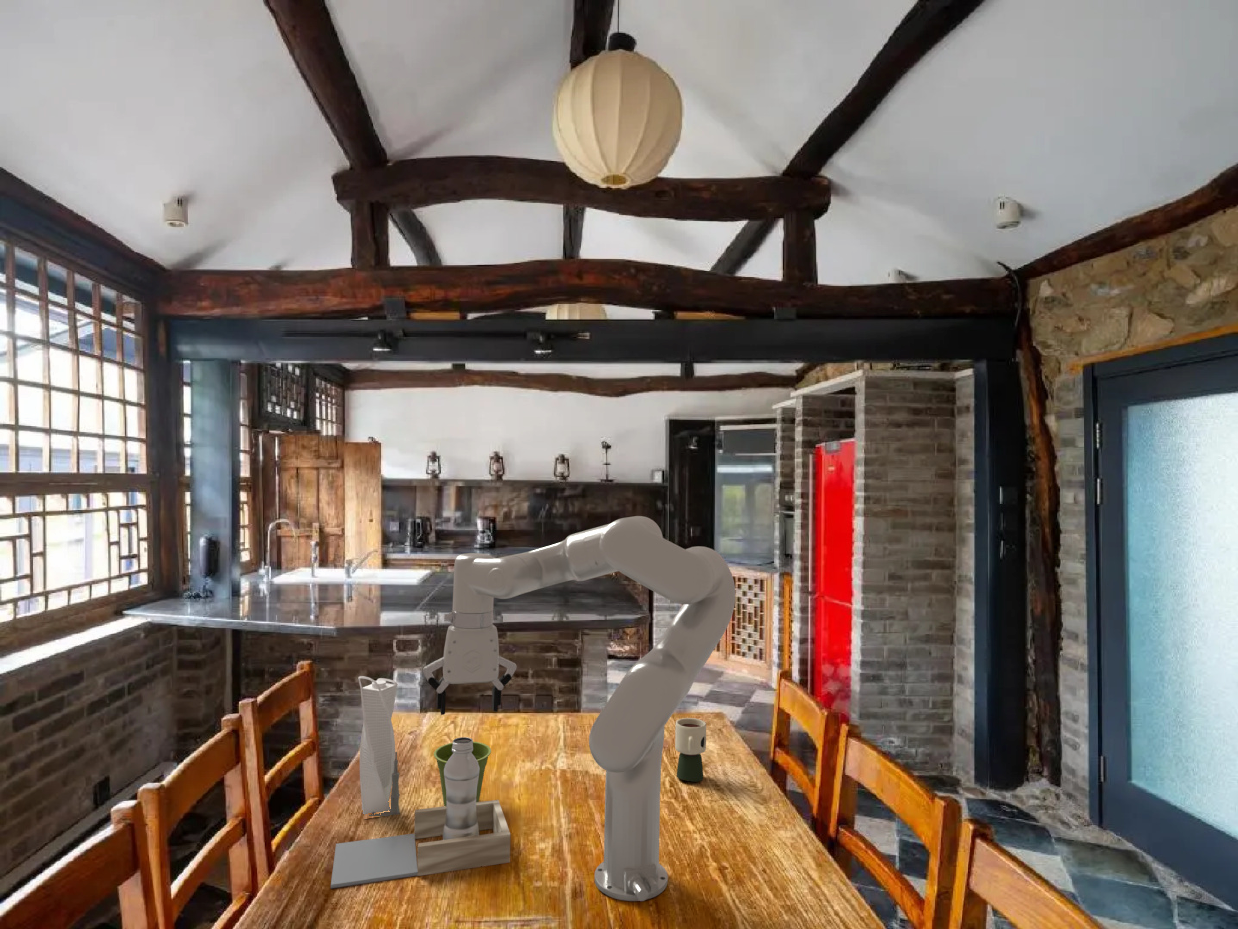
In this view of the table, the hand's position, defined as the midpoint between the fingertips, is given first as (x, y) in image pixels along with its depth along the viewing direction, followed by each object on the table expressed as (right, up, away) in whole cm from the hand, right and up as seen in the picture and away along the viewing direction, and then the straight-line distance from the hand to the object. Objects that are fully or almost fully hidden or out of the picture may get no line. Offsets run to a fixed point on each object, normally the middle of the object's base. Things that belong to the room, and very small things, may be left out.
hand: (468, 711), depth 135 cm
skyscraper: (-22, -26, +14) cm, 37 cm away
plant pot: (-5, -26, +16) cm, 31 cm away
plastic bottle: (-1, -25, -1) cm, 26 cm away
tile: (-16, -25, -6) cm, 30 cm away
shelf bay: (-1, -25, -1) cm, 25 cm away
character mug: (+45, -27, +32) cm, 61 cm away
